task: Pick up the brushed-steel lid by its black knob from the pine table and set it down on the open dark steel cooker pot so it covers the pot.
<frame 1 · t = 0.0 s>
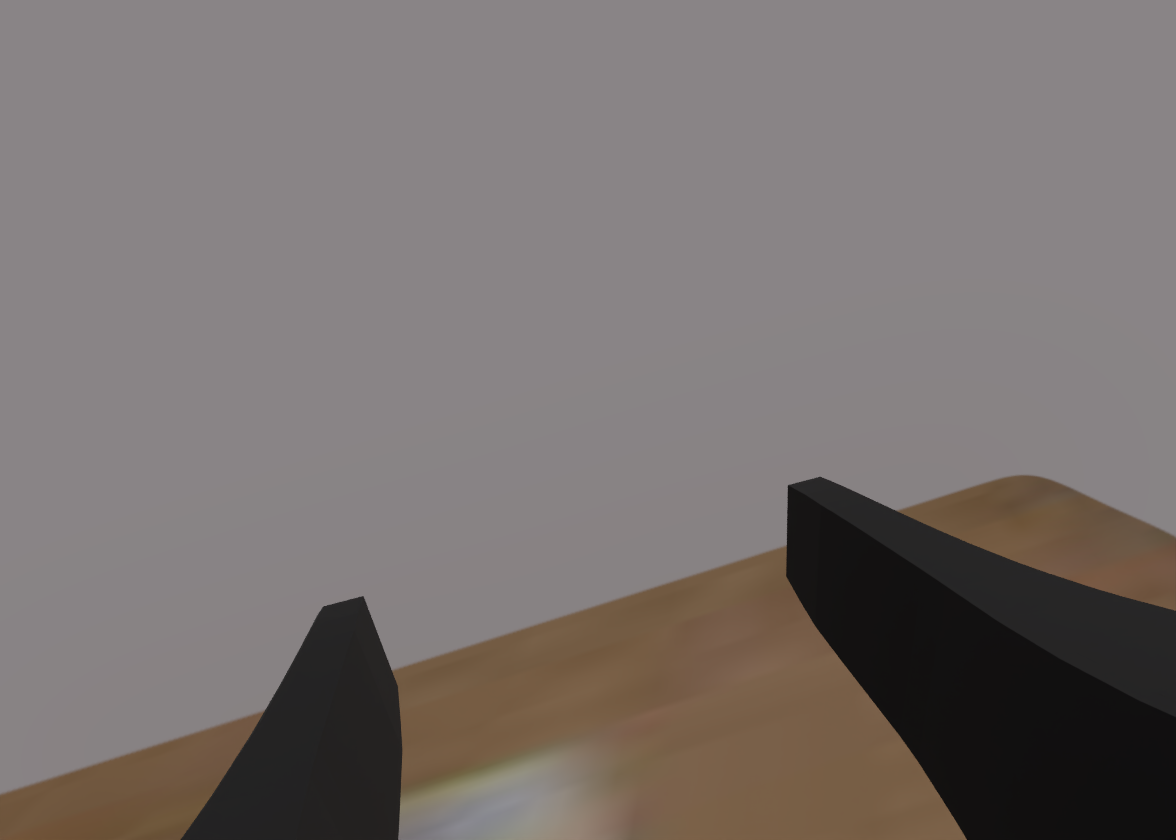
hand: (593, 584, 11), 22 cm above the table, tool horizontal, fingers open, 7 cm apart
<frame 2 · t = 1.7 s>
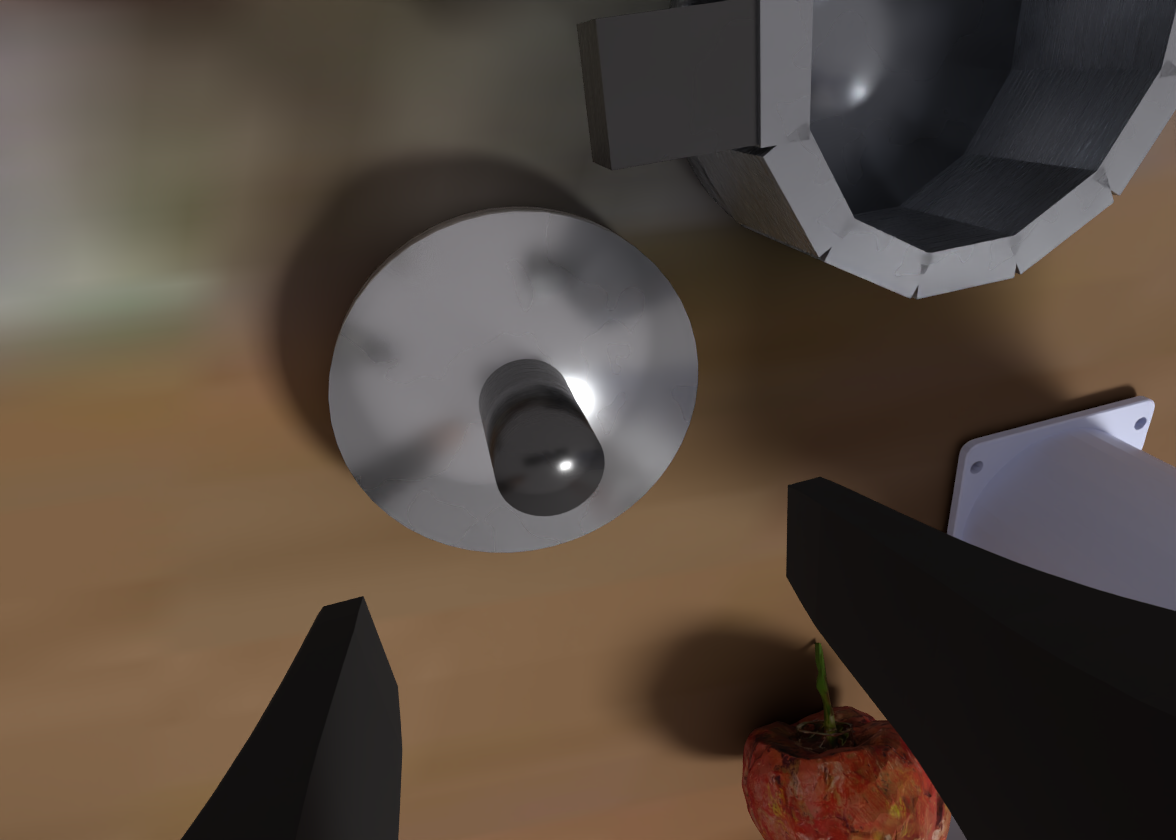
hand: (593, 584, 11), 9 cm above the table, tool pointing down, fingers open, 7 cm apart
lid: (515, 375, 19), on the table
red bell pepper: (792, 705, 29), on the table
pot: (851, 46, 17), on the table
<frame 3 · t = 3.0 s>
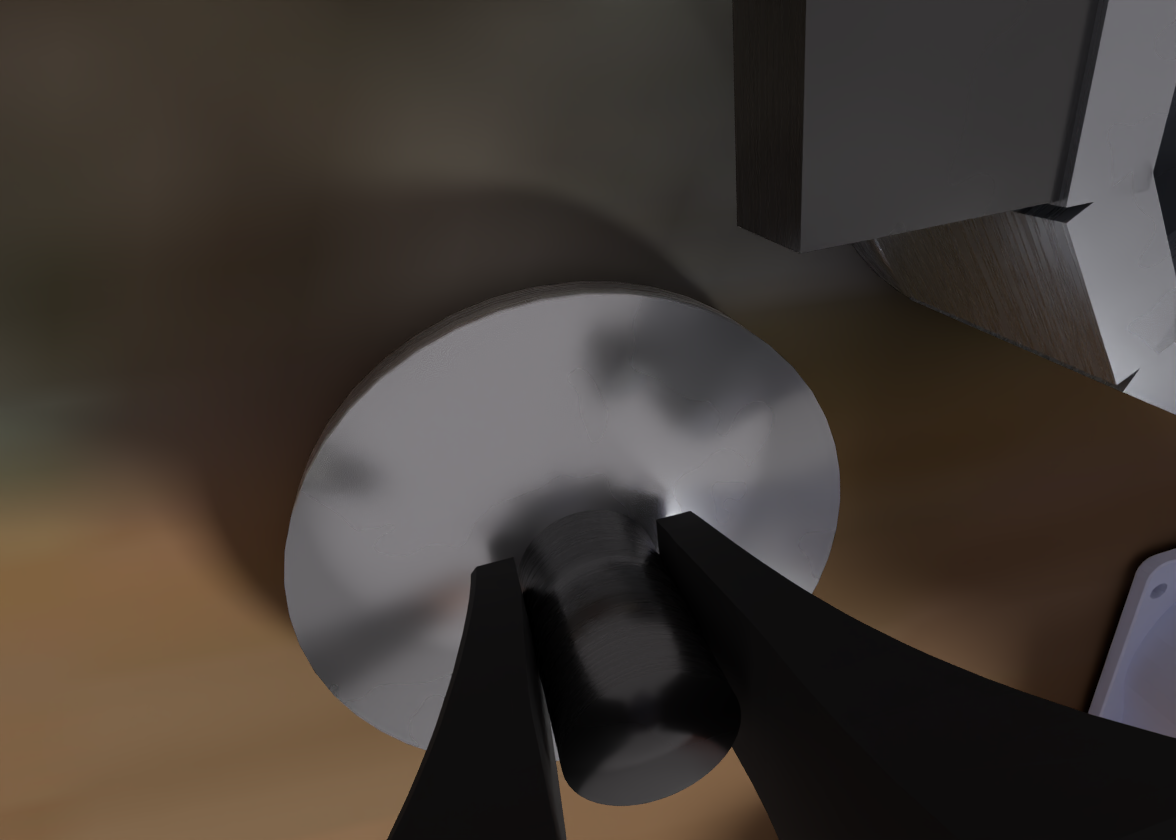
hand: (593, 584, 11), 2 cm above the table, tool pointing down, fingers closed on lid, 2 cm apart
lid: (565, 510, 13), on the table, touching gripper
pot: (1081, 29, 11), on the table
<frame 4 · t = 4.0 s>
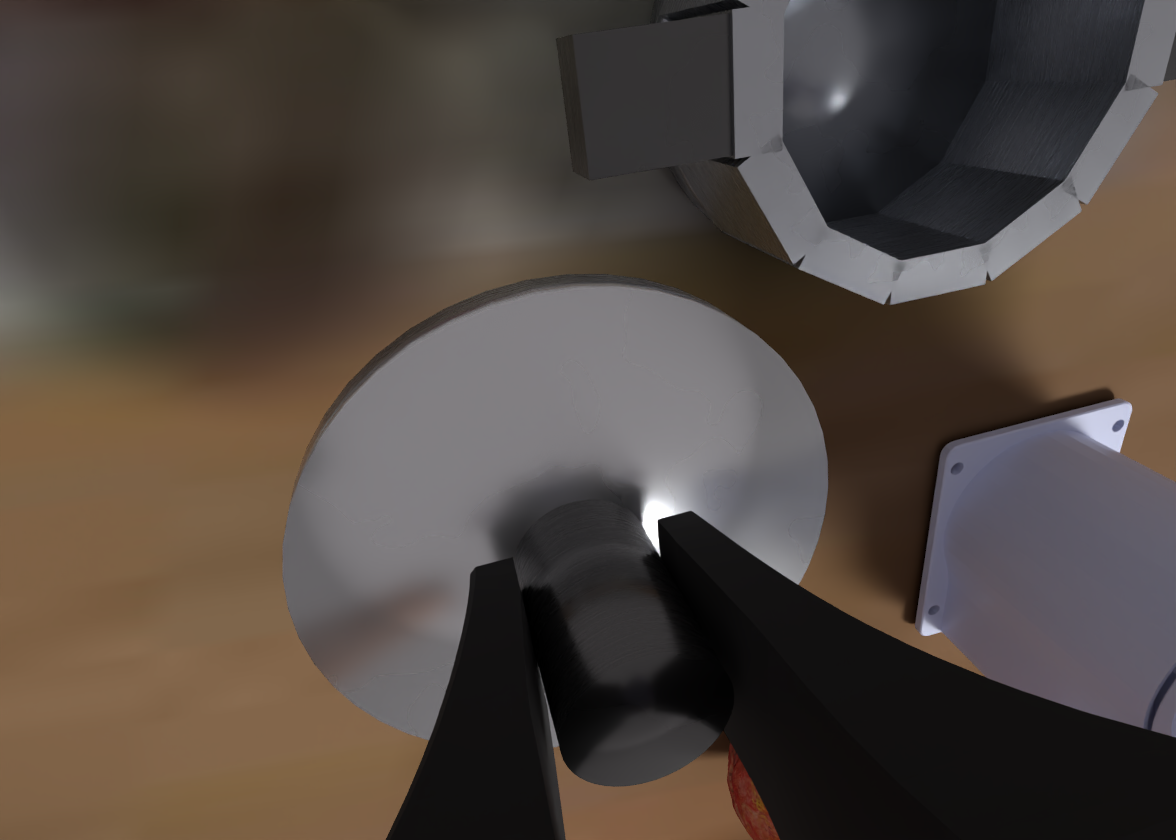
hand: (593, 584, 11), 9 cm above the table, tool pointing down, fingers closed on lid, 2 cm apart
lid: (558, 501, 13), point 7 cm above the table, touching gripper
red bell pepper: (778, 703, 30), on the table
pot: (829, 57, 18), on the table
when the fingers open (7 cm above the table, at t = 5.3 s): lid stays where it is, resting on pot.
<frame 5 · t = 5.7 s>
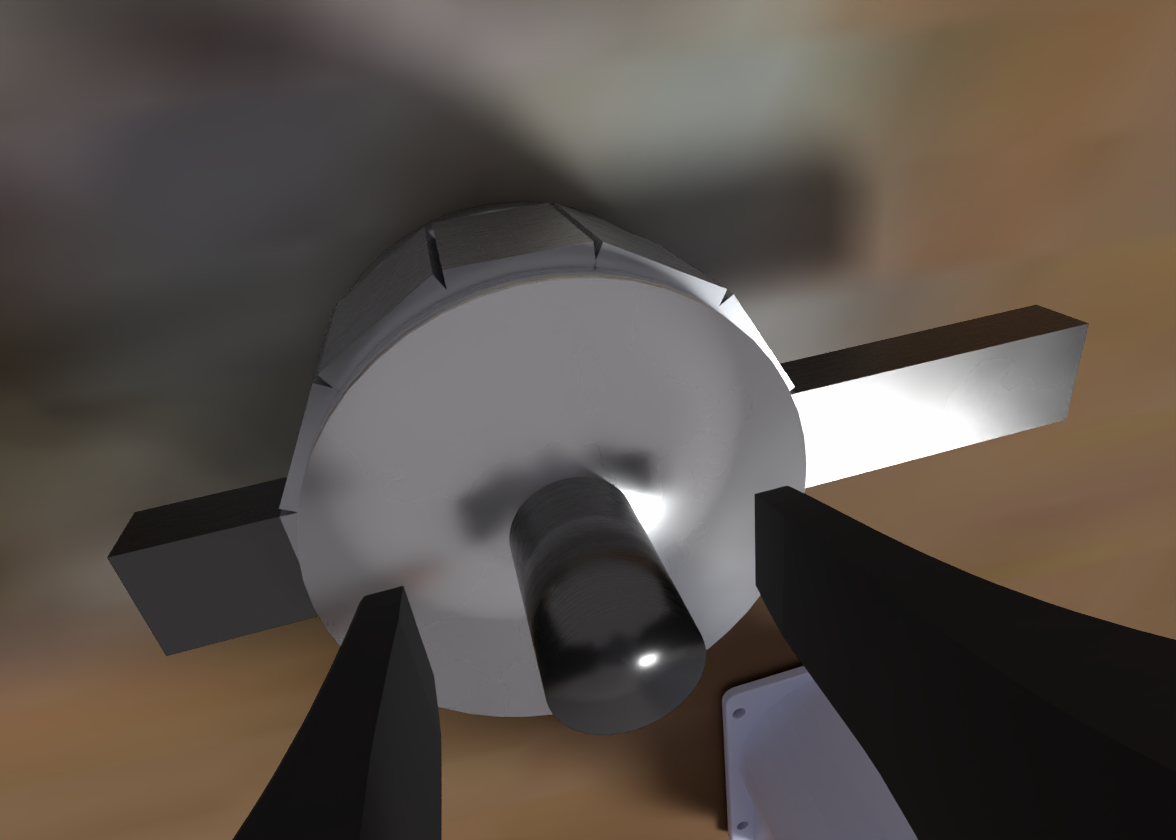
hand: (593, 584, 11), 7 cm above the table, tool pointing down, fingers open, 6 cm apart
lid: (553, 482, 14), point 4 cm above the table, touching pot
pot: (523, 400, 18), on the table
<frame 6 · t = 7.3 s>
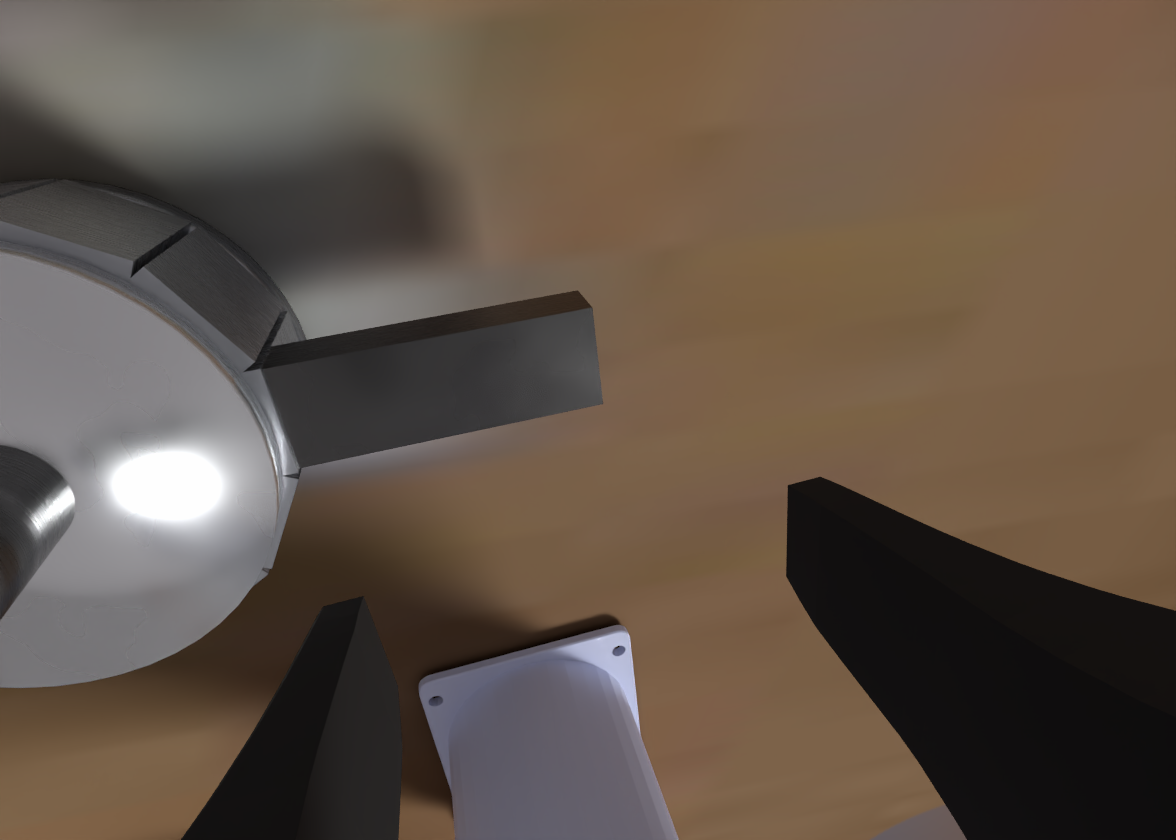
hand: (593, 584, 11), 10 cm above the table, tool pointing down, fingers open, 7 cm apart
lid: (43, 454, 14), point 4 cm above the table, touching pot
pot: (111, 378, 18), on the table
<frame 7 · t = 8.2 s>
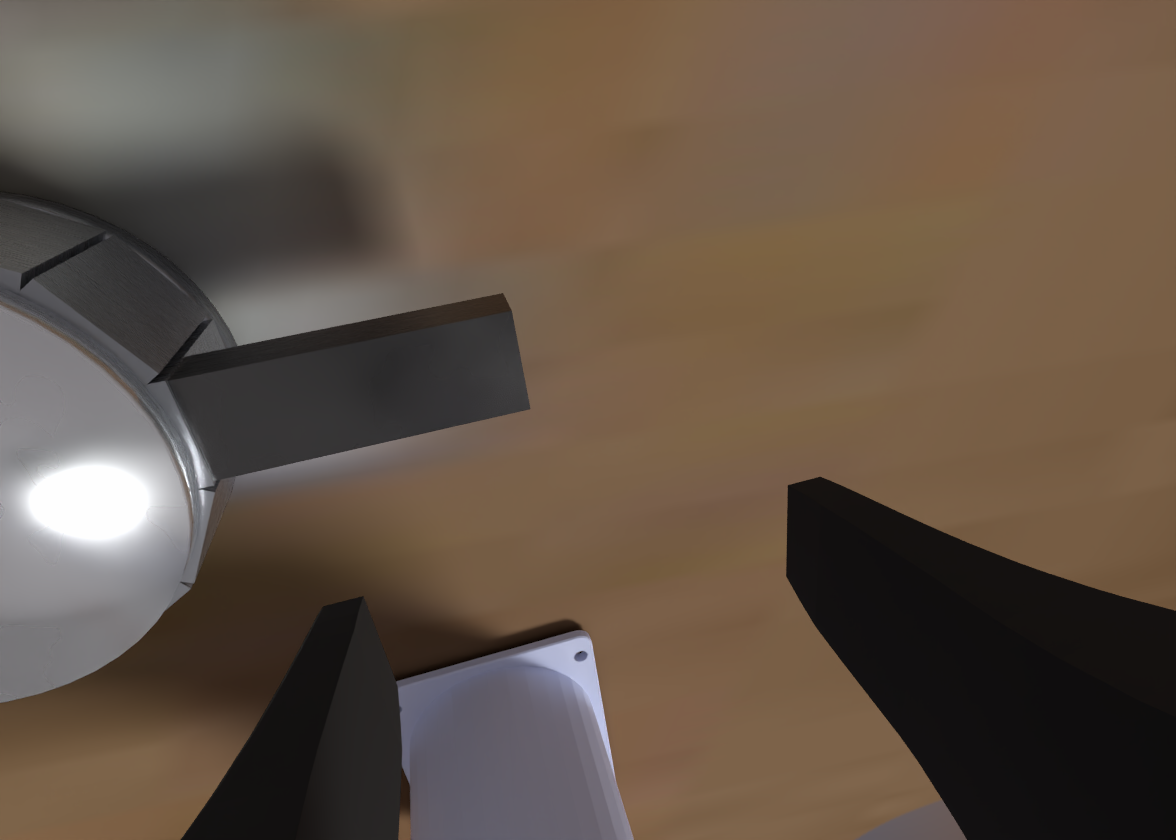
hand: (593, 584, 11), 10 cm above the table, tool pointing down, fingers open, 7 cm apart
pot: (38, 391, 18), on the table
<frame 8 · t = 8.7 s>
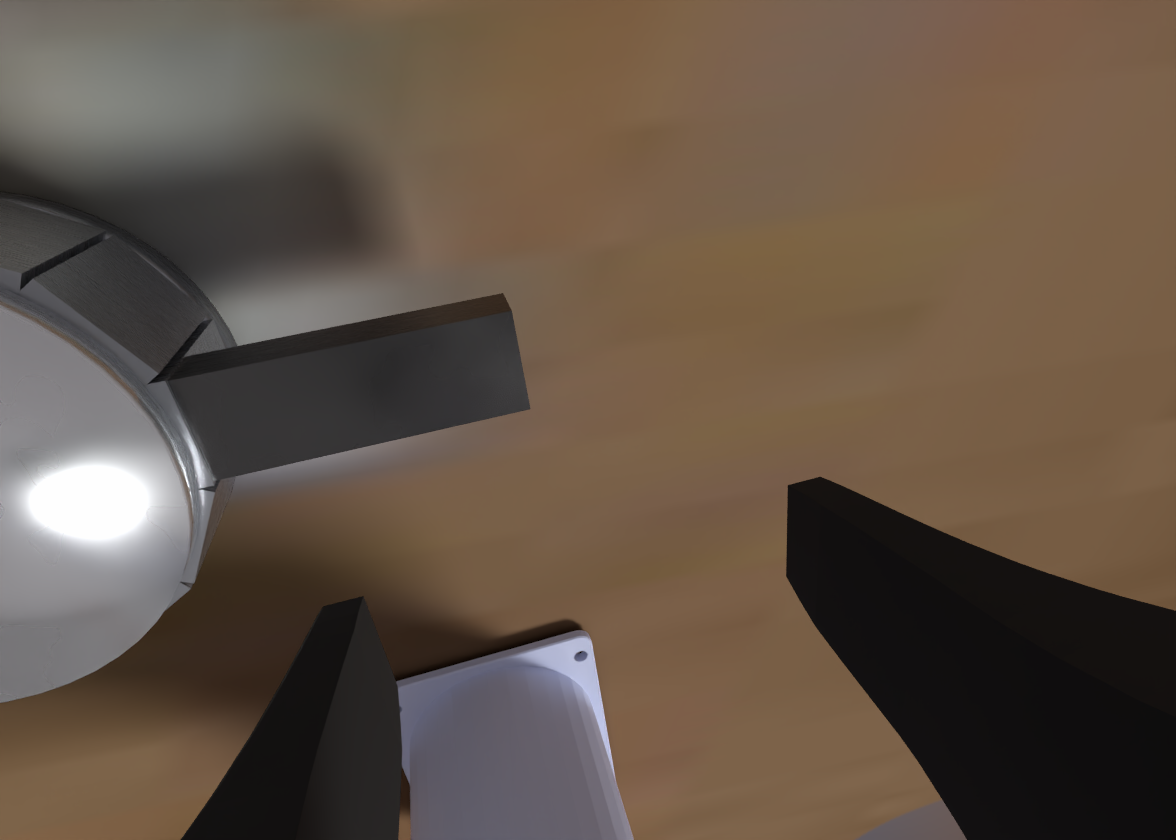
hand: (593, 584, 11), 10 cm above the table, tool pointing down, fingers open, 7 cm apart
pot: (38, 391, 18), on the table
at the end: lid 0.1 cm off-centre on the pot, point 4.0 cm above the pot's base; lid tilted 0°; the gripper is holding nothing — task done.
